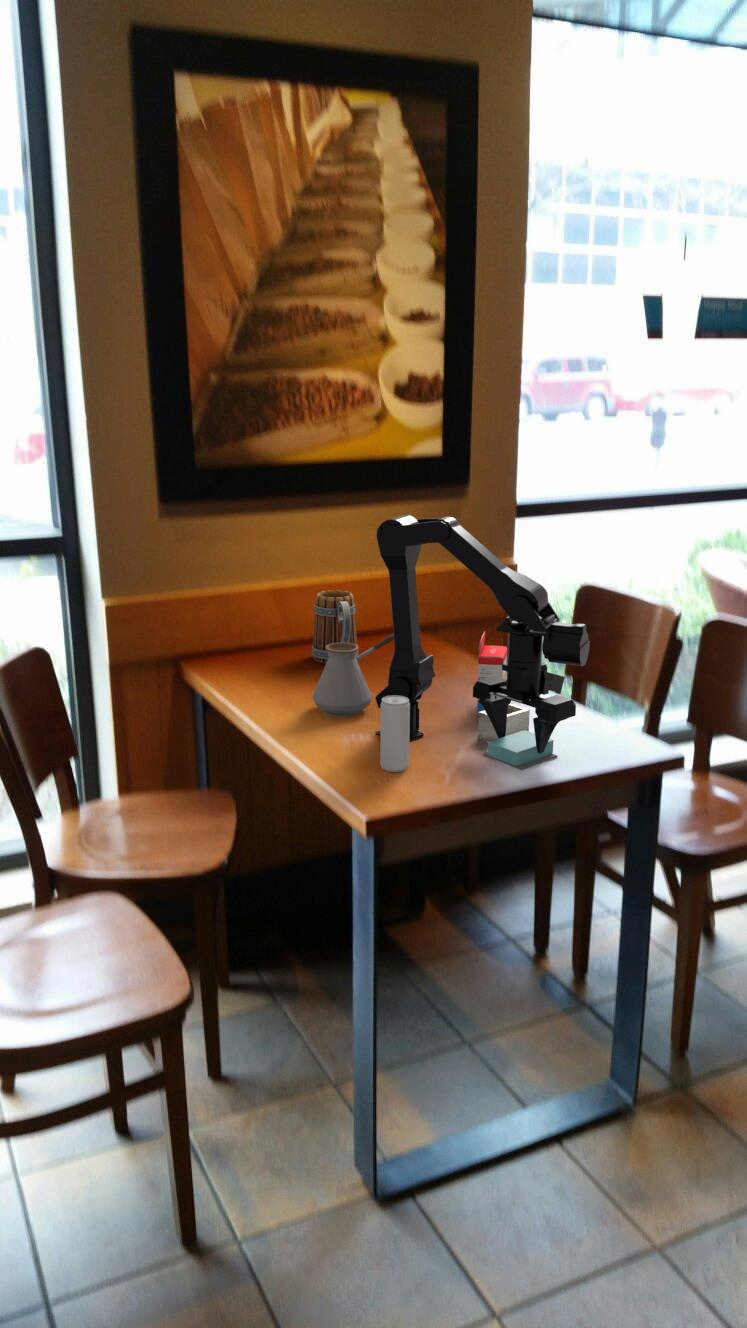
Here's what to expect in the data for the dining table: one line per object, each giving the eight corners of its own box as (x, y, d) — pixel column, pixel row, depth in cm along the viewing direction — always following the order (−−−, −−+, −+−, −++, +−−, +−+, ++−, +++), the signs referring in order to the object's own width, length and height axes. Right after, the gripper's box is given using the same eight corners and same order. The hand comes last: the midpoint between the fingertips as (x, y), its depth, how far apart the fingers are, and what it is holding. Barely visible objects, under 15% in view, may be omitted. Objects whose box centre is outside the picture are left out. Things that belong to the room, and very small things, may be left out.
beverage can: (408, 762, 184) (409, 694, 180) (409, 773, 179) (410, 704, 176) (379, 762, 183) (380, 695, 180) (380, 773, 179) (381, 704, 175)
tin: (498, 745, 191) (499, 719, 190) (477, 738, 195) (478, 712, 194) (528, 735, 196) (529, 709, 195) (508, 728, 200) (509, 703, 199)
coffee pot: (330, 724, 202) (330, 646, 198) (302, 707, 212) (301, 633, 208) (425, 706, 213) (427, 632, 209) (394, 690, 222) (395, 619, 218)
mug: (306, 654, 248) (305, 590, 244) (350, 651, 251) (350, 587, 247) (324, 673, 234) (323, 605, 230) (370, 669, 237) (371, 602, 233)
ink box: (501, 716, 207) (504, 642, 203) (476, 715, 208) (478, 641, 204) (505, 703, 215) (508, 631, 211) (480, 701, 216) (483, 630, 212)
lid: (516, 766, 181) (516, 752, 180) (487, 755, 186) (487, 742, 185) (552, 753, 187) (553, 740, 186) (524, 742, 192) (524, 730, 191)
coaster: (521, 770, 180) (522, 767, 180) (482, 755, 187) (482, 753, 187) (557, 757, 186) (557, 755, 186) (517, 743, 193) (518, 741, 192)
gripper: (599, 661, 180) (594, 750, 184) (515, 639, 193) (512, 722, 198) (555, 673, 173) (551, 765, 177) (471, 650, 186) (469, 736, 191)
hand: (521, 746), depth 186 cm, fingers open, 8 cm apart
